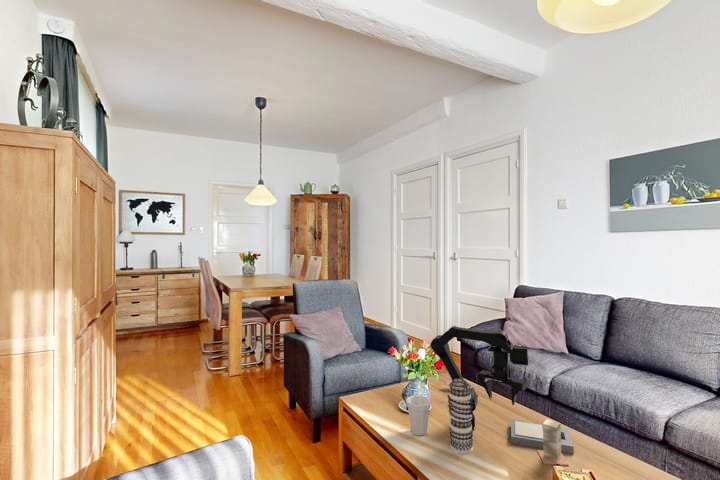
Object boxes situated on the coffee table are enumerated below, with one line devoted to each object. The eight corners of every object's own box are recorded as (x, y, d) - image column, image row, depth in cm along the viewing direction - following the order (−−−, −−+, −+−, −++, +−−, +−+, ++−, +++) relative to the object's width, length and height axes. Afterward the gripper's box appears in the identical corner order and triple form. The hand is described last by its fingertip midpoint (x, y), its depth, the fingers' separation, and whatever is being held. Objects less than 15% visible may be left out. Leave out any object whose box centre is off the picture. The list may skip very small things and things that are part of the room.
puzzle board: (511, 442, 143) (510, 435, 143) (511, 425, 156) (510, 418, 156) (573, 453, 135) (573, 445, 135) (568, 434, 148) (568, 427, 148)
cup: (412, 424, 159) (411, 393, 159) (435, 429, 154) (434, 398, 154) (403, 435, 150) (402, 402, 150) (426, 441, 145) (425, 407, 145)
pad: (543, 464, 129) (543, 462, 129) (537, 451, 137) (537, 450, 137) (568, 465, 128) (568, 464, 128) (560, 452, 135) (560, 451, 135)
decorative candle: (471, 456, 134) (469, 387, 134) (446, 450, 139) (444, 383, 139) (476, 444, 142) (475, 378, 142) (452, 438, 147) (451, 375, 147)
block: (543, 457, 132) (542, 423, 132) (547, 452, 135) (546, 419, 135) (557, 462, 129) (556, 427, 129) (561, 456, 132) (560, 423, 132)
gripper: (532, 362, 149) (533, 401, 149) (487, 353, 162) (488, 389, 162) (521, 369, 141) (522, 411, 141) (475, 359, 154) (476, 397, 154)
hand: (501, 401), depth 149 cm, fingers open, 9 cm apart
